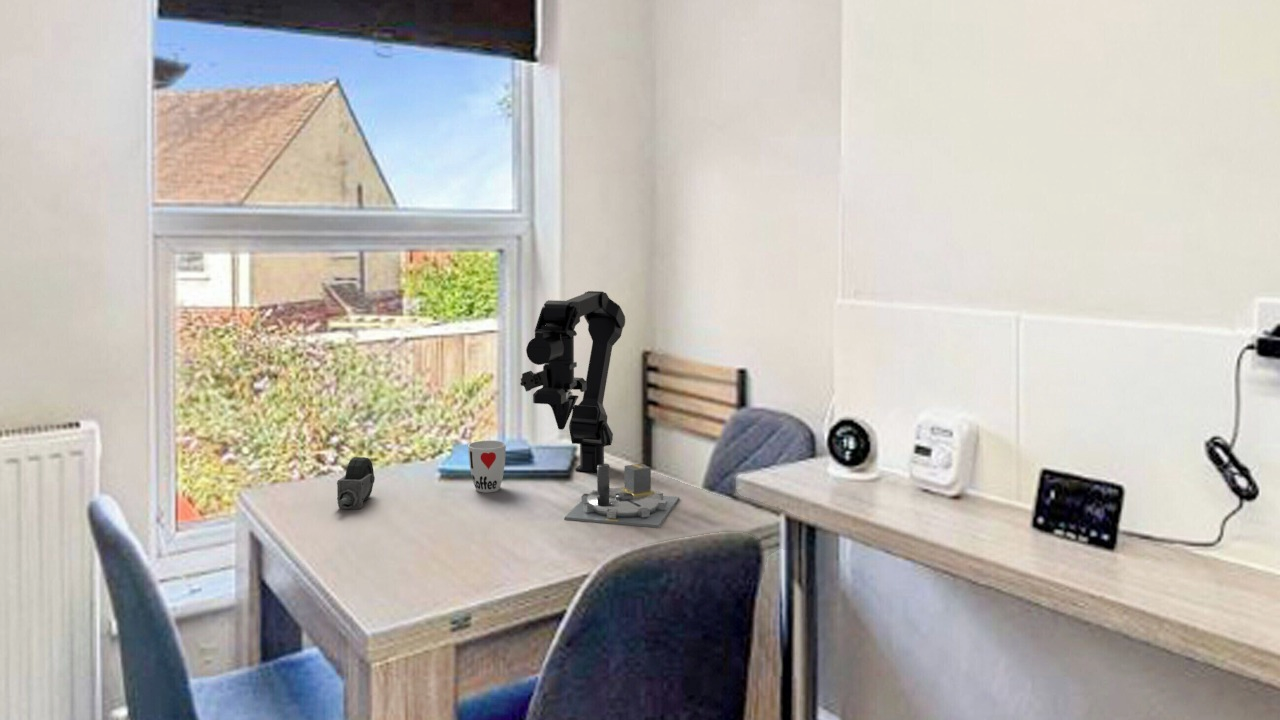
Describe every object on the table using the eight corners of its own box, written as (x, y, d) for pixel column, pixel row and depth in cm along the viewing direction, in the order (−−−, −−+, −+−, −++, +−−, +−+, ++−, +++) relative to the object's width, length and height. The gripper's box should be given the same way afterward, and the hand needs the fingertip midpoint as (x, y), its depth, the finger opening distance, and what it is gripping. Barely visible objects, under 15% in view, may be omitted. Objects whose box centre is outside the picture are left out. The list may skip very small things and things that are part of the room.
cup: (462, 492, 195) (461, 447, 194) (479, 482, 203) (478, 439, 202) (496, 496, 193) (495, 450, 192) (512, 485, 201) (511, 441, 199)
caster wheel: (354, 498, 194) (327, 513, 179) (354, 453, 194) (326, 465, 179) (380, 499, 194) (355, 514, 179) (380, 454, 194) (355, 465, 179)
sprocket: (566, 500, 187) (565, 455, 186) (639, 488, 196) (640, 445, 195) (605, 524, 172) (605, 475, 171) (683, 510, 181) (684, 464, 180)
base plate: (593, 492, 196) (593, 489, 196) (679, 499, 191) (679, 496, 191) (564, 519, 178) (564, 516, 178) (658, 527, 173) (658, 524, 173)
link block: (624, 488, 190) (624, 465, 189) (641, 486, 192) (641, 462, 191) (634, 493, 186) (634, 469, 186) (650, 491, 188) (650, 467, 188)
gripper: (540, 351, 207) (541, 418, 209) (509, 363, 189) (510, 436, 191) (587, 353, 204) (587, 421, 207) (559, 365, 186) (560, 439, 189)
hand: (561, 429), depth 198 cm, fingers closed
